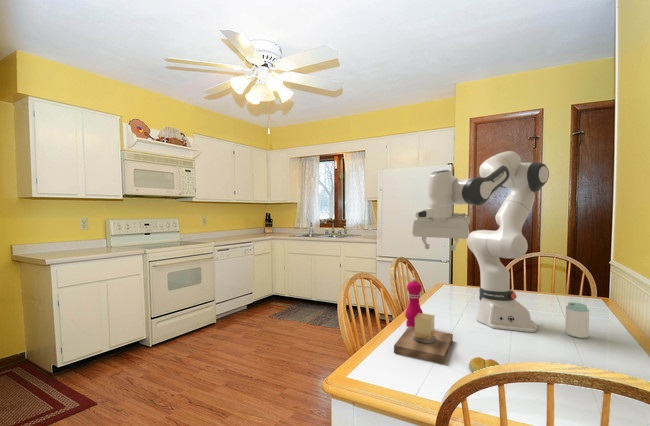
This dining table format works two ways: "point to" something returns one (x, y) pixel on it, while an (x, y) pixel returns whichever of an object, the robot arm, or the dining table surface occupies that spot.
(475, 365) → the bread roll
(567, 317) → the can
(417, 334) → the wooden cube block
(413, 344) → the walnut board
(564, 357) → the dining table surface
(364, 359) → the dining table surface
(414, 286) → the pepper mill
